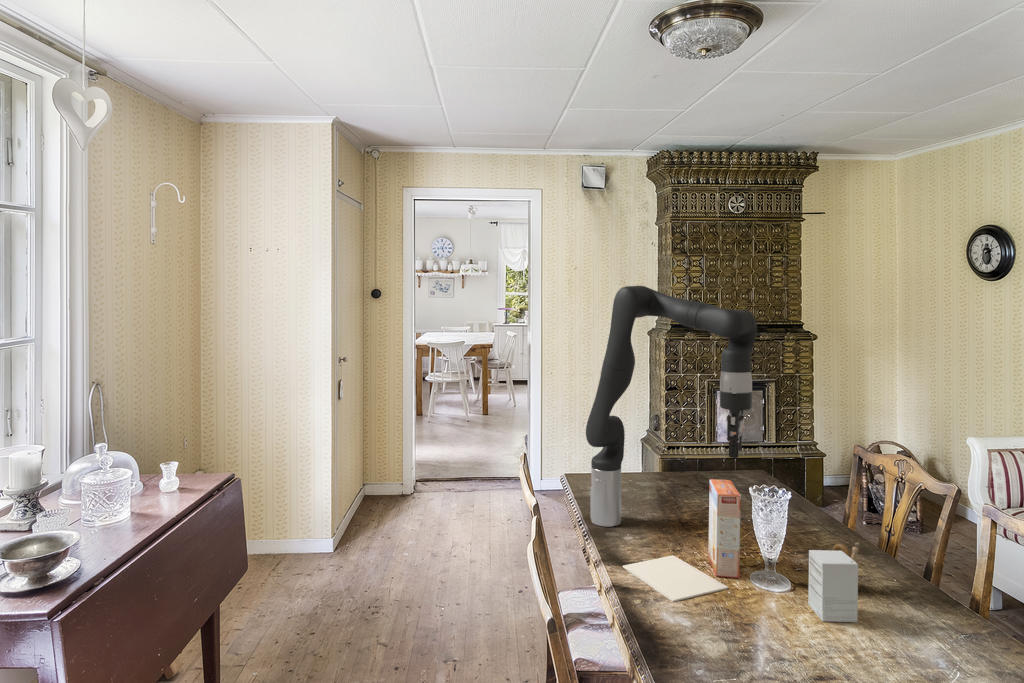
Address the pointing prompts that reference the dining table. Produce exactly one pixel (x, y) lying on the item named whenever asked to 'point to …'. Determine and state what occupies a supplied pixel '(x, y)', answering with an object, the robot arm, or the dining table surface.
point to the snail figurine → (847, 550)
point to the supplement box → (833, 586)
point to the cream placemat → (674, 578)
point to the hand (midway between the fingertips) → (735, 453)
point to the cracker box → (724, 528)
